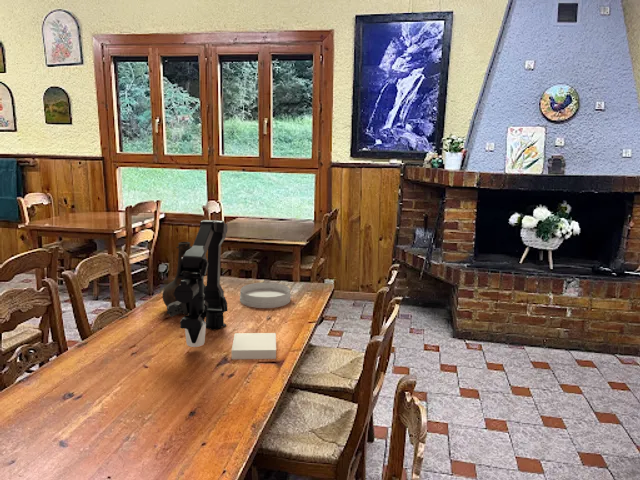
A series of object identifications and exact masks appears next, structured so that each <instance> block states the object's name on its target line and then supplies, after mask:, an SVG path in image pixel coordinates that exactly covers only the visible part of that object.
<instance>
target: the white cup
mask: <svg viewBox="0 0 640 480" xmlns="http://www.w3.org/2000/svg"><path fill="white" fill-rule="evenodd" d="M202 323H203V325H202V327H201V330H200V333H199V335H198V338H197V341H196V343H192V341H191V338H190V335H189V332H188V330H187V329H184V334H185V341H186V345H187V347H191V348H198V347H202V346H204V344H205V342H206V341H205V340H206V330H207V329H206V320H204V321H203V320H202Z"/></svg>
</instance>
